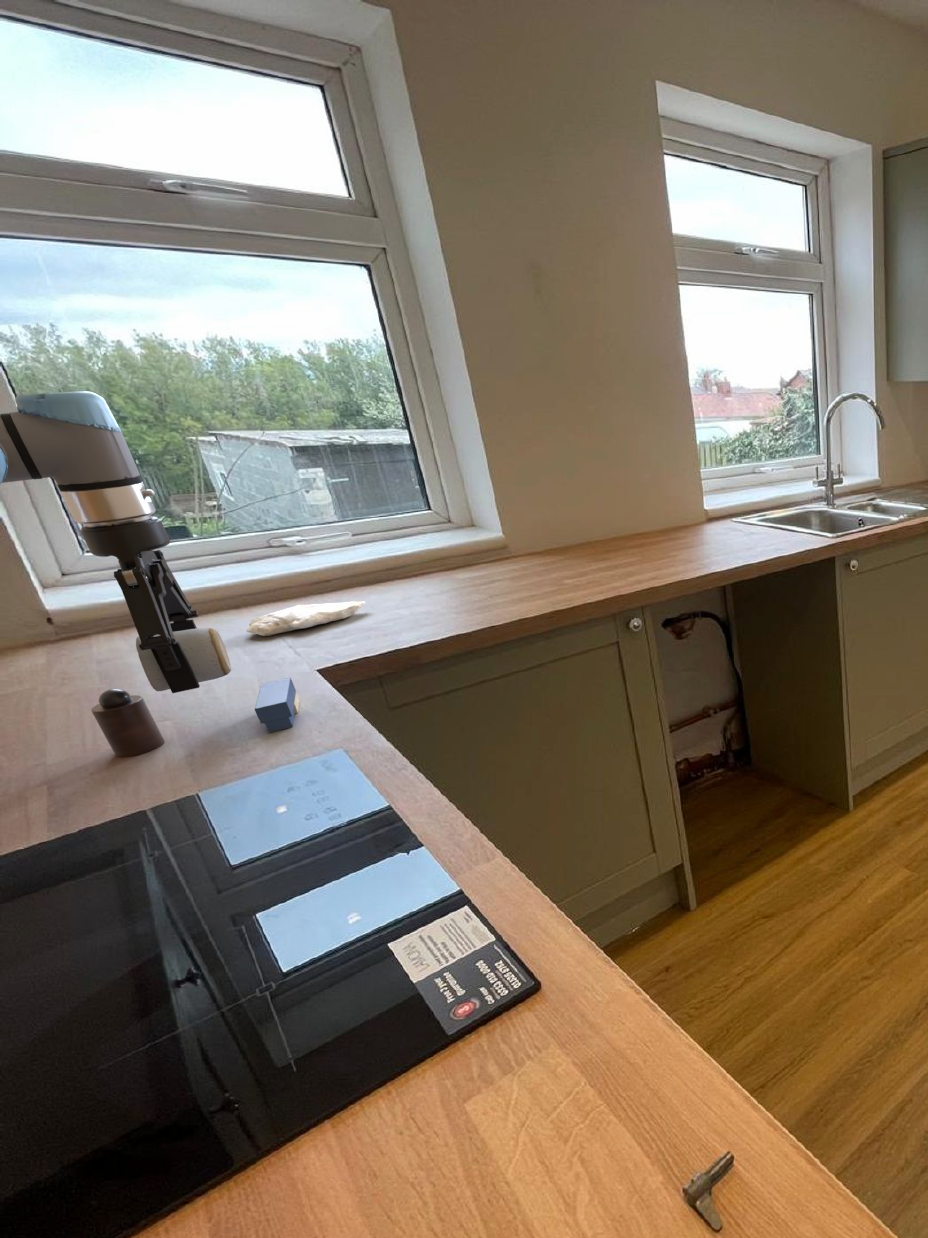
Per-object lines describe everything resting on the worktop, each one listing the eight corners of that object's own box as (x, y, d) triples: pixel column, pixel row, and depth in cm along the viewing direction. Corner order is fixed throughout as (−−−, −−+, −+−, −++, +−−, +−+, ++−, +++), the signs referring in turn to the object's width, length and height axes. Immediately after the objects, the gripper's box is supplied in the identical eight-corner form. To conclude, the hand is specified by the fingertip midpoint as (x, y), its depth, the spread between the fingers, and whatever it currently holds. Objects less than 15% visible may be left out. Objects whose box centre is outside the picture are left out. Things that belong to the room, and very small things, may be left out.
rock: (248, 628, 146) (364, 606, 158) (249, 645, 136) (373, 620, 148) (241, 611, 144) (359, 589, 156) (242, 627, 135) (367, 603, 147)
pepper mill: (111, 761, 97) (78, 701, 93) (120, 746, 100) (89, 688, 97) (161, 749, 99) (131, 690, 96) (167, 735, 103) (139, 678, 99)
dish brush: (296, 726, 104) (286, 701, 102) (265, 734, 102) (254, 708, 100) (300, 700, 112) (290, 677, 111) (271, 707, 110) (261, 683, 109)
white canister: (235, 680, 100) (212, 628, 97) (156, 698, 95) (129, 644, 92) (234, 661, 107) (213, 612, 104) (160, 677, 102) (136, 627, 99)
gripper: (138, 530, 85) (216, 696, 94) (174, 503, 103) (236, 645, 111) (49, 541, 81) (139, 713, 90) (102, 511, 99) (172, 658, 108)
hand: (193, 676), depth 101 cm, fingers closed on white canister, 11 cm apart
